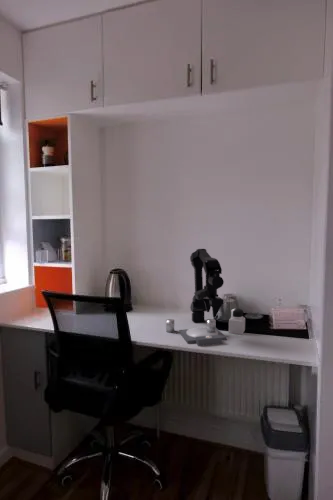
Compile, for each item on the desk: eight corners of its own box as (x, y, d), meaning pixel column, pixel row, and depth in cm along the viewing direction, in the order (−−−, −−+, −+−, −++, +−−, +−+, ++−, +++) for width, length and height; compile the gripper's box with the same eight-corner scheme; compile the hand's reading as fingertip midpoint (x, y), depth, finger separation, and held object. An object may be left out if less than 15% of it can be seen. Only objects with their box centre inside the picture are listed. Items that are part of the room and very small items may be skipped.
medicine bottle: (245, 330, 173) (245, 308, 172) (242, 334, 167) (242, 311, 166) (231, 328, 176) (232, 307, 175) (228, 332, 170) (228, 310, 169)
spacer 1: (173, 329, 176) (173, 318, 175) (175, 332, 171) (175, 321, 171) (165, 330, 175) (165, 319, 174) (167, 333, 170) (167, 321, 170)
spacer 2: (213, 329, 169) (213, 318, 168) (216, 332, 165) (216, 321, 164) (205, 330, 168) (205, 319, 167) (208, 333, 164) (208, 321, 163)
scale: (214, 329, 175) (214, 323, 175) (230, 342, 156) (230, 336, 156) (179, 332, 171) (179, 326, 171) (190, 346, 152) (190, 339, 151)
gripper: (190, 281, 171) (190, 310, 173) (202, 288, 153) (202, 321, 155) (210, 280, 174) (210, 309, 175) (224, 287, 156) (224, 319, 157)
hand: (211, 314), depth 166 cm, fingers open, 9 cm apart
